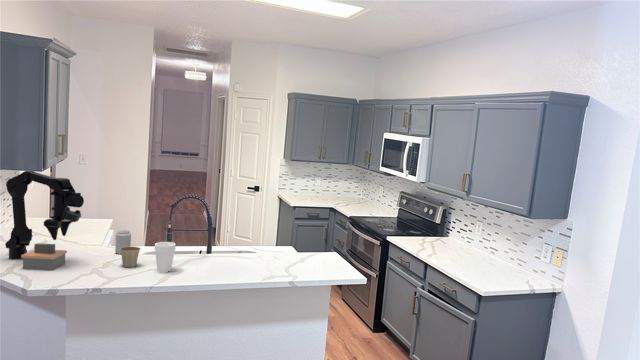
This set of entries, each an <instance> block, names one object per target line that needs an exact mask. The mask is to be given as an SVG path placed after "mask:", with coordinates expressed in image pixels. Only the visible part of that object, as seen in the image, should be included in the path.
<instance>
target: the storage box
mask: <svg viewBox="0 0 640 360" xmlns="http://www.w3.org/2000/svg"><path fill="white" fill-rule="evenodd" d="M65 264H66V254H64V255H62V256H60V257H58V258H55V259H34V258H23V259H22V269H23V270H33V271H35V270H38V271H54V270H57V269H58V268H60V267H62V266H64V265H65Z"/></svg>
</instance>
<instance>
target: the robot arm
mask: <svg viewBox="0 0 640 360" xmlns="http://www.w3.org/2000/svg"><path fill="white" fill-rule="evenodd" d="M33 182H35V183H37V184H41V185H44V186H47V187H48V188H49V189H50V190H53V191H51V192H50V193H49V195H50V196H53V207H51V211H53V215H52V216H51V217H50V218H47V219H45V220H44V221H43V226H44V227H45V228H46V229H47V231H48V233H49V234H50V236H51V238H52V240H53V241H57V237H58V232H59V229H60V231H61V235H62V237H63V236H64V237H65V236H66V235H67V232H68V229H69V227H70V225H71V224H72V223H76V222H79V220H80V218H81V217H82V213H81V210H79V209H76V210H71V207H72V208H81V207H83V205H84V202H85V200H84V197H83V196H82V193H81V192H76V190H75V188H74V187H73V184H72V183H71V180H70V179H69V178H66V177H53V176H50V175H47V174H42V173H40V172H36V171H35V170H24V171H23V172H21V173H20V174H18V175H16V176H13V177H12V178H11V177H10V178H9V179H8V180H7V181H6V182H5V185H6V190H7V193H8V194H9V195H10V197H11V205H12V216H13V217H12V218H13V228H12V230H11V231H10V238H9V239H8V240H7V241H6V242H5V244H4V246H5V248H6V249H8V259H10V260H23V258H21V255H23V254H25V253H28V249H27V247H28V246H30V243H31V241H32V239H33V237H34V236H33V229H32V228H29V227H28V225H27V217H26V215H27V214H26V204H25V203H26V201H25V196H26V193H27V192H28V186H29V185H31V184H32V183H33Z"/></svg>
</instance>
